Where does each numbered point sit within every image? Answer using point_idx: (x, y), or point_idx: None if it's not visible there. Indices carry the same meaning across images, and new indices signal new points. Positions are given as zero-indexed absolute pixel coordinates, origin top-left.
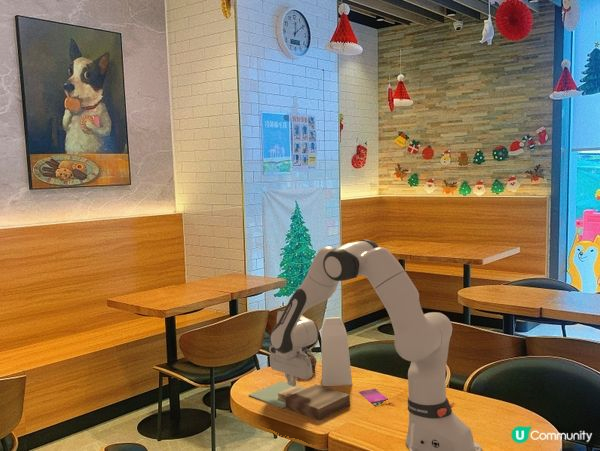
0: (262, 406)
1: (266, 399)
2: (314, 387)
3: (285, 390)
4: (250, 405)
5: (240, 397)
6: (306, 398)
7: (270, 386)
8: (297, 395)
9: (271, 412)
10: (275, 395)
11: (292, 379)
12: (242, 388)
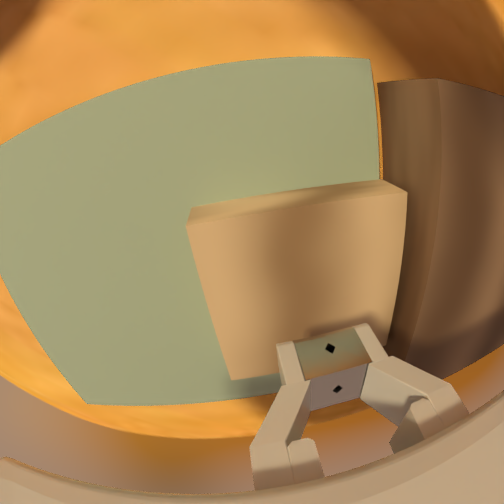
0: (253, 414)
1: (200, 393)
2: (473, 157)
3: (227, 329)
4: (204, 431)
5: (94, 417)
6: (492, 320)
7: (11, 285)
8: (440, 347)
9: (339, 404)
10: (173, 344)
11: (393, 418)
12: (2, 365)
